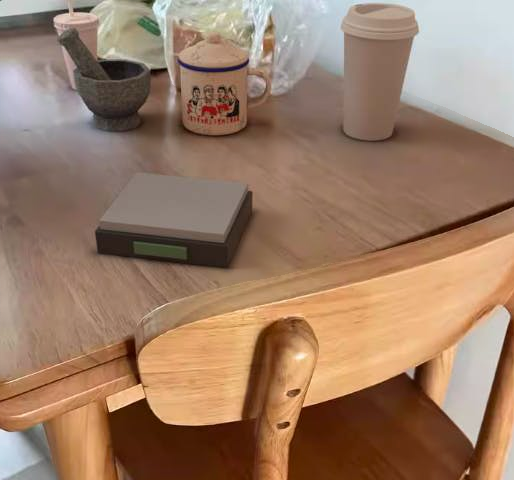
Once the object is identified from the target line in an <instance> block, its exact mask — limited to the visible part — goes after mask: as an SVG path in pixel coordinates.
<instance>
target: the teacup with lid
mask: <svg viewBox="0 0 514 480" xmlns="http://www.w3.org/2000/svg"><path fill="white" fill-rule="evenodd" d="M177 62H178V64H179V72H180V93H181V94H180V95H181V119H182V125H183V126H184V127H185V129H187V130H188V131H190V132H192V133H195V134H199V135H203V136H204V135H205V136H224V135H225V136H226V135H231V134H234V133H238V132H239V131H242V130H243V129H244V128H245V127H246V125H247V122H248V121H247V120H248V117H247V116H248V109H255V108H258V107H260V106H262V105H263V104H264V103H265V102H267V100H268V98H269V96H270V94H271V90H272V81H271V77H270V75H269V74H268V73H267V72H266V71H265V70H263V69H260V68H257V67H256V68H255V67H251V68H250V67H249V68H248V65H249V63H250V58H249V55H248V53H247V52H246V50H244V49H243V48H241V47H238V46H236V45H232V44H231V43H230V42H228V41H226V40H223V39H222V34H221V33H220V32H219V31H208V32H206V34H205V35H204V40H203V39H202V40H200V41H199V42H197V43H195V44H194V45H191V46H188V47H185V48H184V49H182V50H181V51H180V52H179V55H178V58H177ZM248 76H258V77H260V78H262V79H263V80H264V82H265V88H264V91H263V93H262V94H261V96H260V97H259V98H257V99H254V100H248Z"/></svg>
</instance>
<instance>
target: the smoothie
mask: <svg viewBox="0 0 514 480" xmlns="http://www.w3.org/2000/svg"><path fill="white" fill-rule="evenodd" d="M67 5H68V12H66V13H60V14H58V15H55V17H53V27H54V28H55V29H56V30H57V34H58V37H59V36H60V35H61V34H62V33H63V32H64V31H66V30H68V29H70V28H75V29H76V30H77V31H78V33H79V38H80V39H81V40H82V42H83V43H84V44H85V46H86V47H87V48H88V50H89V51H90V52H91V54H92V55H93V56H94V58H95V59H96V60H97V61H98V27H100V25H101V24H100V20H99V19H100V18H99V16H98V15H97V14H95V13H90V12H82V11H81V12H80V11H77V12H74V5H73V0H67ZM60 46H61V49H62V54H63V58H64V62H65V66H66V69H67V73H68V77H69V80H70V85H71V88H72V89H73V90H75V91H77V88H76V85H75V81H74V74H73V70H75V69H76V68H77V67H76V65H75V63H74V62H73V60H72V59H71V57H70V55H69V54H68V52H67V50H66V49H65V47H64V46H62V45H60Z"/></svg>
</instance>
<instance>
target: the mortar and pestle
mask: <svg viewBox="0 0 514 480" xmlns="http://www.w3.org/2000/svg"><path fill="white" fill-rule="evenodd" d="M57 41H58V43H59V45H60V46H61V45H62V46H64V47H65V49H66V50H67V52H68V54H69V55H70V57H71V59H72V60H73V62H74V63H75V65H76V67H77V68H76V69H75V70H73V74H74V81H75V85H76V88H77V90H76V92H77V94H78V96H79V97H80V98H81V100H82V102H83V103H84V105H85V106H86V108H87V109H88V110H89V111H90V112H91V113H93V116H92V120H93V122H92V123H93V124H94V126H95V128H96V129H100V130H102V131H107V132H123V131H128V130H131V129H135V128H137V127H138V126H139V125H140V124H141V116H140V113H139V110H140V109H141V108H142V107H143V106H144V105H145V104H146V102H147V100H148V98H149V95H150V93H151V88H152V87H151V86H152V74H151V69H150V68H149V67H148V66H147V65H146V64H145V63H144V62H140V61H137V60H136V61H135V60H130V59H127V58H126V59H124V58H123V59H122V58H121V59H118V58H117V59H115V58H114V59H113V58H112V59H109V58H108V59H99V60H98V59H97V60H96V59H95V58H94V56H93V55H92V54H91V52H90V51H89V50H88V48H87V47H86V46H85V44H84V43H83V42H82V40H81V39H80V38H79V33H78V31H77V30H76V29H75V28H70V29H68V30H66V31H64V32H63V33H62V34H61V35H60V36H59V35H58V37H57ZM62 46H61V47H62Z"/></svg>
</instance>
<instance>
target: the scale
mask: <svg viewBox="0 0 514 480" xmlns="http://www.w3.org/2000/svg"><path fill="white" fill-rule="evenodd" d="M252 213H253V190H249V183H248V182H237V181H227V180H218V179H209V178H208V179H207V178H197V177H190V176H189V177H188V176H177V175H170V174H169V175H168V174H167V175H166V174H157V173H150V172H149V173H148V172H135V174H134V175H133V176H132V177H131V179H130V180H129V181H128V182H127V184H126V185H125V186H124V188H123V189H122V191H120V193H119V194H118V195H117V197H116V198H115V200H114V201H112V203H111V204H110V206H109V207H108V208H107V210H106V211H105V212H104V213H103V215H102V216H101V217H100V219H99V220H98V221H99V225H98V226H97V228H96V229H95V231H94V236H95V243H96V251H97V253H98V254H106V255H113V256H122V257H132V258H139V259H149V260H155V261H156V260H157V261H164V262H172V263H182V264H189V265H198V266H199V265H200V266H207V267H215V268H224V269H228V267H229V265H230V263H231V261H232V259H233V256H234V254H235V252H236V249H237V247H238V245H239V243H240V240H241V238H242V235H243V234H244V231H245V228H246V226H247V225H248V222H249V220H250V217H251V214H252Z"/></svg>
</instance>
